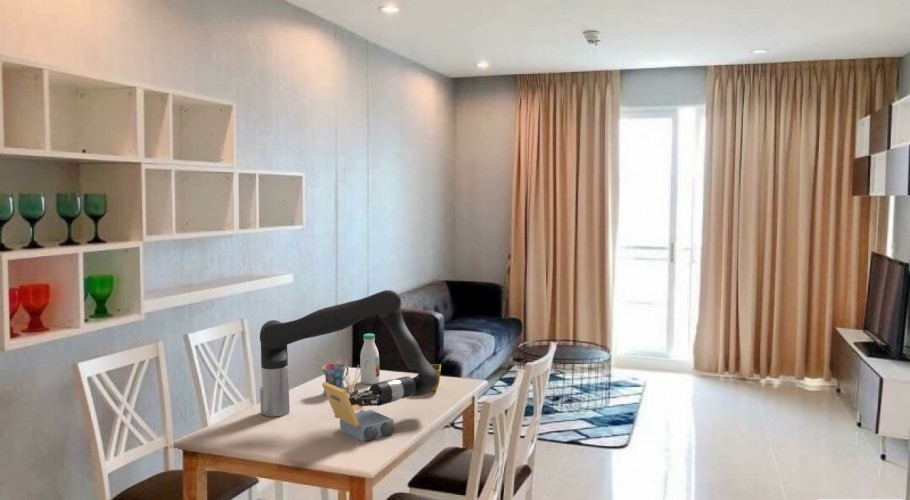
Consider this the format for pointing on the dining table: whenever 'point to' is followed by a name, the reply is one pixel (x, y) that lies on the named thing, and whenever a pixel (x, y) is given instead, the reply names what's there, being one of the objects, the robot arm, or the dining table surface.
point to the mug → (335, 374)
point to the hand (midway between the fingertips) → (342, 403)
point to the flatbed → (369, 426)
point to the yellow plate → (340, 404)
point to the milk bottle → (369, 361)
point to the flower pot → (437, 369)
